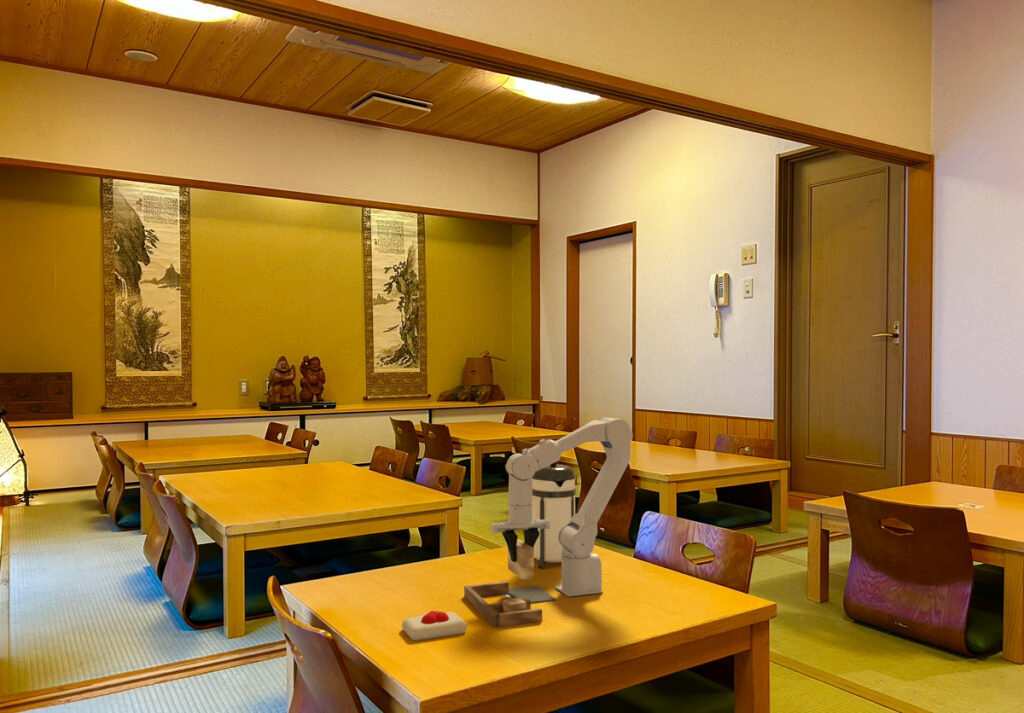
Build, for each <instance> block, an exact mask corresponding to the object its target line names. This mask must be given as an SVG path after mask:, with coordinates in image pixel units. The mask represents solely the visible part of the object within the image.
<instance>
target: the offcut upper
mask: <svg viewBox="0 0 1024 713" xmlns="http://www.w3.org/2000/svg"><path fill="white" fill-rule="evenodd" d="M502 602H503V609H504V610H505V611H507V612H515V611H523V610H526V602H525V601H523V600H521V599H520V598H507V599H503V600H502Z"/></svg>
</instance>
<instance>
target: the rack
mask: <svg viewBox="0 0 1024 713" xmlns="http://www.w3.org/2000/svg"><path fill="white" fill-rule="evenodd" d="M509 584H510V583H509V581H500V582H491V583H490V582H489V583H481V584H473V585H472V584H471V585H464V587H463V588H464V589H463V591H464V592H463V593H464V594H463V595H464V596H463V597H464V598H465V599H466V600H467V601H468V602H469V603H470V604H471V605H472V606H473V607H474V608H475V609H476V610H477V611H478V612H479V613H480V614H481V615H482V616H483V617H484V619H486V621H487V622H489V624H490V625H491V626H492V627H493V628H499V627H508V626H516V625H524V624H530V623H531V624H532V623H537V622H538V623H540V622H543V609H542V608H533V609H532V606H531V605H532V603H531V600H529V599H526V600H523V601H525V602H526V610H523V611H515V612H506V613H503V601H502V602H493V603H488V602H487V601H486V600H485V599H484V598H483V596H493V595H502V594H508V593H507V592H509Z"/></svg>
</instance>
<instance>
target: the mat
mask: <svg viewBox="0 0 1024 713" xmlns="http://www.w3.org/2000/svg"><path fill="white" fill-rule="evenodd" d="M506 594H508V595H509V596H510V597H511V599H513V598H520V599H521V600H526V599H529V600H531V604H537V603H544V602H554V601H557V598H555V597H554V596H553V595H552V594H550V593H549V592H548V591H546V590H544V589H543V588H542V587H541V586H539V585H537V584H535V585H527V586H518V587H510V588H509V592H507V593H506Z"/></svg>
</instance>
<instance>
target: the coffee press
mask: <svg viewBox="0 0 1024 713" xmlns="http://www.w3.org/2000/svg"><path fill="white" fill-rule="evenodd" d="M557 463H558V461H556V462H554V463H552V464H550V465H548V466H546V467H544V468H543V469H541V470H539V471H535V474H534V475H533V477H532V520H545V519H547V520H549V521H550V529H545V528H543V529H538V531H539V537H538V538H537V540H536V542H535V545H534V547H533V548H534V561H535V560H538V564H537V568H538V569H545V567H546V565H547V564H548V563H562V550H563V547H562V546H561V544H560V543H559V539H558V535H559V532H560V530H561V529H562V527H564V526H565V525H566V524H567V523H568V522H569V520H570V519H571V517H573V516H574V515H576V495H577V494H576V493H577V492H576V491H577V490H576V489H577V488H576V478H577V474H576V473H575V470H574V468H572V467H570V466H568V465H565V464H557Z"/></svg>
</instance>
